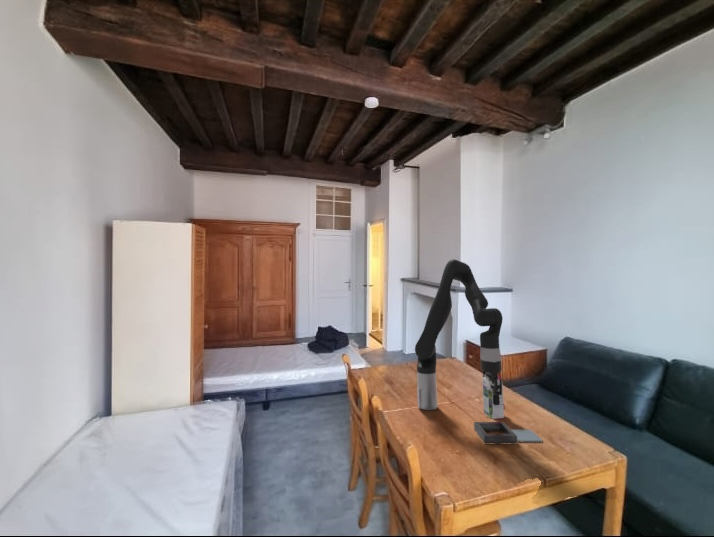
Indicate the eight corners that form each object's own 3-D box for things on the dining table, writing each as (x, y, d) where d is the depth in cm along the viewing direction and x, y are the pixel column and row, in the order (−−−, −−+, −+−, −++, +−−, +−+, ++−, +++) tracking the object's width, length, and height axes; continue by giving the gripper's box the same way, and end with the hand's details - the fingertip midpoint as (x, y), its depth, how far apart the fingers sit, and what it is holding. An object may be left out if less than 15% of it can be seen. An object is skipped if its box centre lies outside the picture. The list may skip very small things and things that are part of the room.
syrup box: (483, 413, 123) (481, 376, 124) (497, 412, 124) (494, 375, 125) (490, 419, 117) (488, 381, 118) (505, 418, 118) (502, 380, 119)
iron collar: (484, 444, 114) (484, 435, 114) (474, 429, 126) (473, 421, 126) (517, 444, 113) (516, 435, 114) (503, 429, 125) (503, 421, 126)
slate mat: (518, 442, 115) (518, 440, 115) (508, 431, 124) (507, 429, 124) (542, 442, 114) (542, 440, 114) (530, 431, 123) (530, 429, 123)
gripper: (475, 354, 129) (477, 395, 128) (487, 363, 115) (490, 408, 114) (493, 354, 129) (495, 394, 128) (508, 362, 115) (510, 408, 114)
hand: (493, 401), depth 121 cm, fingers closed on syrup box, 6 cm apart
